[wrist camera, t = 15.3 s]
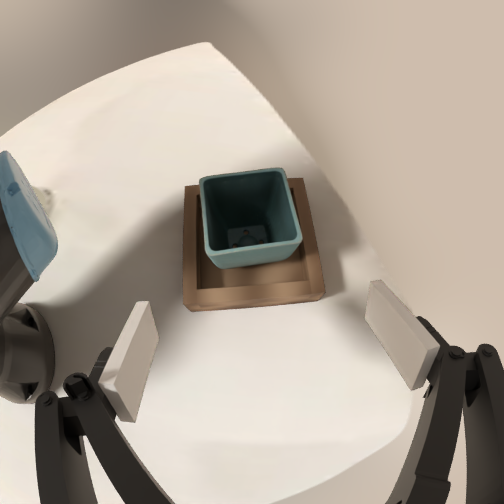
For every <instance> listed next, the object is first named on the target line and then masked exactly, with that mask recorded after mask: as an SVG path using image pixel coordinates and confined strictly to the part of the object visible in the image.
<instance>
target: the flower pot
mask: <svg viewBox="0 0 504 504" xmlns="http://www.w3.org/2000/svg"><path fill="white" fill-rule="evenodd" d="M199 186H200V195H201V205H202V217H203V227H204V241H205V251H206V254H207V255H208V256H209V258H210V259H211V260H212V262H213V263H214V264H215V265H216V266H217V267H218V268H220V269H232V268H238V267H245V266H251V265H258V264H265V263H272V262H279V261H283V260H285V259H287V258H288V257H290V256H291V254H292V253H293V252H294V251H295V249H296V248H297V247H298V246H299V244H300V243H301V242H302V239H303V237H302V232H301V229H300V225H299V221H298V218H297V214H296V210H295V207H294V203H293V200H292V196H291V192H290V188H289V185H288V181H287V177H286V174H285V171H284V169H282V168H268V169H260V170H253V171H245V172H237V173H228V174H220V175H213V176H206V177H203V178H201V179H200V180H199ZM245 231H247V232H248V234H246V235H245V234H244V232H245ZM260 241H262V242H263V244H259V242H260ZM233 245H237V248H233Z"/></svg>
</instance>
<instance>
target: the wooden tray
mask: <svg viewBox="0 0 504 504" xmlns="http://www.w3.org/2000/svg"><path fill="white" fill-rule="evenodd" d="M287 181H288V185H289V188H290V192H291V196H292V200H293V203H294V207H295V210H296V214H297V218H298V221H299V225H300V229H301V232H302V237H303V239H302V242H301V243H300V244H299V246H298V247H297V248H296V249H295V251H294V252H293V253H292V254H291V256H290V257H288V258H287V259H285V260H283V261H279V262H272V263H265V264H258V265H251V266H245V267H238V268H232V269H220V268H218V267H217V266H216V265H215V264H214V263H213V262H212V260H211V259H210V258H209V256H208V255H207V254H206V251H205V241H204V227H203V217H202V205H201V195H200V186H199V185H192V186H185V198H184V225H183V304H184V305H185V306H186V307H187V308H188V309H189V310H190V311H191V312H195V311H212V310H227V309H241V308H253V307H265V306H276V305H286V304H296V303H305V302H314V301H318V300H319V299H320V298H321V297H322V295H323V294H324V293H325V287H324V281H323V275H322V269H321V264H320V258H319V253H318V247H317V242H316V237H315V232H314V227H313V222H312V217H311V212H310V208H309V203H308V199H307V194H306V190H305V185H304V181H303V178H287ZM244 234H245V235H246V234H248V232H247V231H245V232H244ZM259 244H263V242H262V241H260V242H259ZM233 248H237V245H233Z"/></svg>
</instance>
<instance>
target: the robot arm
mask: <svg viewBox="0 0 504 504" xmlns="http://www.w3.org/2000/svg"><path fill="white" fill-rule="evenodd" d="M57 250H58V240H57V236H56V233H55V230H54V228H53V226H52V224H51V222H50V220H49V218H48V216H47V214H46V212H45V210H44V208H43V207H42V205H41V203H40V201H39V199H38V198H37V196H36V194H35V192H34V190H33V189H32V187H31V185H30V183H29V182H28V180H27V178H26V177H25V175H24V173H23V172H22V170H21V168H20V167H19V165H18V164H17V162H16V161H15V159H13V157H12V156H11V154H10V153H9V152H8V151H3V152H1V153H0V396H1V397H3V398H5V399H7V400H9V401H11V402H14V403H18V404H32V403H35V402H36V403H35V457H36V471H37V481H38V489H39V496H40V503H41V504H98V502H97V499H96V495H95V492H94V488H93V484H92V480H91V476H90V471H89V467H88V462H87V457H86V452H85V447H84V441H83V436H84V435H86V436H87V438H88V440H89V442H90V444H91V446H92V448H93V450H94V452H95V454H96V456H97V458H98V460H99V461H100V463H101V465H102V467H103V469H104V470H105V472H106V474H107V476H108V477H109V479H110V481H111V482H112V484H113V486H114V487H115V489H116V490H117V492H118V494H119V495H120V497H121V498H122V500H123V501H124V503H125V504H175V503H174V502H173V501H172V499H171V498H170V497H169V496H168V495H167V494H166V492H165V491H164V490H163V489H162V488H161V486H160V485H159V484H158V483H157V481H156V480H155V479H154V478H153V476H152V475H151V474H150V472H149V471H148V470H147V468H146V467H145V466H144V464H143V463H142V462H141V460H140V459H139V457H138V456H137V454H136V453H135V452H134V450H133V449H132V447H131V446H130V444H129V443H128V441H127V440H126V438H125V437H124V435H123V433H122V432H121V430H120V429H119V427H118V425H117V424H116V422H115V417H116V414H117V416H118V417H119V419H120V420H121V421H124V422H134V423H135V422H136V418H137V414H138V410H139V407H140V403H141V399H142V396H143V392H144V388H145V385H146V381H147V378H148V374H149V371H150V367H151V364H152V361H153V357H154V354H155V351H156V347H157V344H158V341H159V335H158V332H157V329H156V325H155V322H154V318H153V315H152V311H151V307H150V303H149V301H138V302H136V304H135V306H134V308H133V310H132V312H131V314H130V316H129V318H128V320H127V322H126V324H125V326H124V328H123V330H122V332H121V334H120V336H119V338H118V340H117V342H116V344H115V347H114V348H110V347H107V348H106V349H105V350H103V351H102V352H101V353H100V355H99V357H98V359H97V362H96V363H95V365H94V367H93V369H92V371H91V373H90V375H89V377H87V375H86V374H83V373H74V374H72V375H70V376H68V377H67V378H66V379H65V381H64V383H63V389H64V390H65V392H66V393H67V395H68V396H69V397H62V398H58V396H57V395H56V394H55V393H54V392H52V391H48V389H49V387H50V385H51V382H52V378H53V373H54V364H55V355H54V346H53V341H52V337H51V334H50V331H49V328H48V326H47V324H46V322H45V320H44V319H43V317H42V316H41V315H40V314H39V313H38V312H37V311H36V310H35V309H33V308H31V307H29V306H27V305H24V304H22V303H18V301H19V300H20V299H21V297H22V296H23V295H24V294H25V292H26V291H27V290H28V289H29V288H30V287H31V285H32V284H33V283H34V282H37V281H38V280H39V278H40V275H41V273H42V272H43V271H44V270H45V268H46V267H47V266H48V265H49V264H50V262H51V261H52V260H53V259H54V257H55V255H56V253H57ZM365 320H366V322H367V323H368V325H369V326H370V328H371V329H372V331H373V332H374V334H375V335H376V337H377V338H378V340H379V341H380V343H381V344H382V346H383V347H384V349H385V350H386V352H387V354H388V355H389V357H390V358H391V360H392V361H393V363H394V365H395V366H396V368H397V369H398V371H399V373H400V374H401V376H402V377H403V379H404V381H405V382H406V384H407V386H408V387H409V389H410V390H411V391H412V390H415V389H418V388H421V387H423V385H424V383H425V381H426V379H427V380H428V381H429V383H430V385H429V387H428V389H427V391H426V393H425V395H424V398H425V401H424V405H423V409H422V412H421V416H420V419H419V423H418V426H417V429H416V432H415V435H414V438H413V441H412V444H411V447H410V450H409V452H408V455H407V458H406V460H405V463H404V465H403V468H402V470H401V473H400V475H399V478H398V480H397V482H396V484H395V487H394V489H393V491H392V493H391V495H390V497H389V499H388V501H387V502H386V503H385V504H445V503H446V500H447V497H448V494H449V491H450V486H451V483H450V482H449V481H448V475H449V471H450V468H451V464H452V460H453V455H454V452H455V447H456V442H457V437H458V432H459V427H460V421H461V414H462V408H463V416H464V424H465V437H466V455H467V489H466V504H504V370H503V367H502V363H501V361H500V358H499V355H498V352H497V350H496V349H495V348H494V347H493V346H491V345H489V344H481V345H479V347H478V349H477V351H476V352H470V353H466V352H465V351H464V350H463V349H462V348H460V347H458V346H450V345H449V344H448V343H447V342H446V341H445V340H444V339H443V338H442V337H441V335H440V334H439V333H438V332H436V330H435V328H434V327H432V325H431V324H430V323H429V322H428V321H427V320H426V319H424V318H422V317H421V316H418V317H415V316H414V315H413V314H412V313H411V312H410V310H409V309H408V308H407V307H406V306H405V305H404V304H403V303H402V302H401V301H400V300H399V298H398V297H397V296H396V295H395V294H394V293H393V292H392V291H391V290H390V289H389V288H388V287H387V286H386V285H385V284H384V282H383V281H382V280H376V281H370V287H369V294H368V300H367V307H366V313H365Z"/></svg>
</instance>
